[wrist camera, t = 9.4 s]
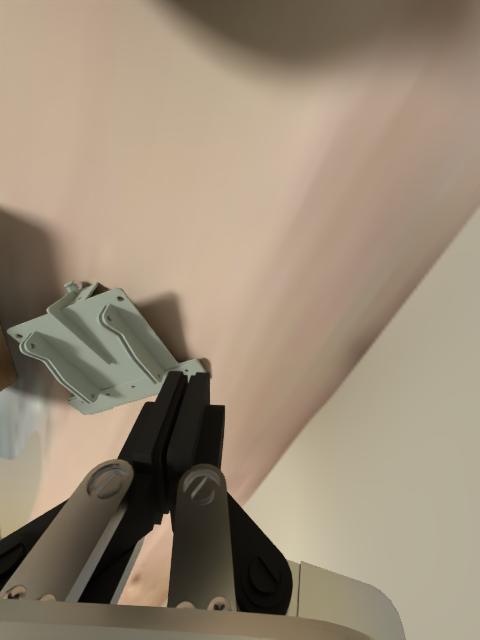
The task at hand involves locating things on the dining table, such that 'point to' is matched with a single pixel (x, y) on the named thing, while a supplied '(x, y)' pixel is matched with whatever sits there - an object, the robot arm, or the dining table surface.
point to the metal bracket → (99, 349)
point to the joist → (6, 364)
